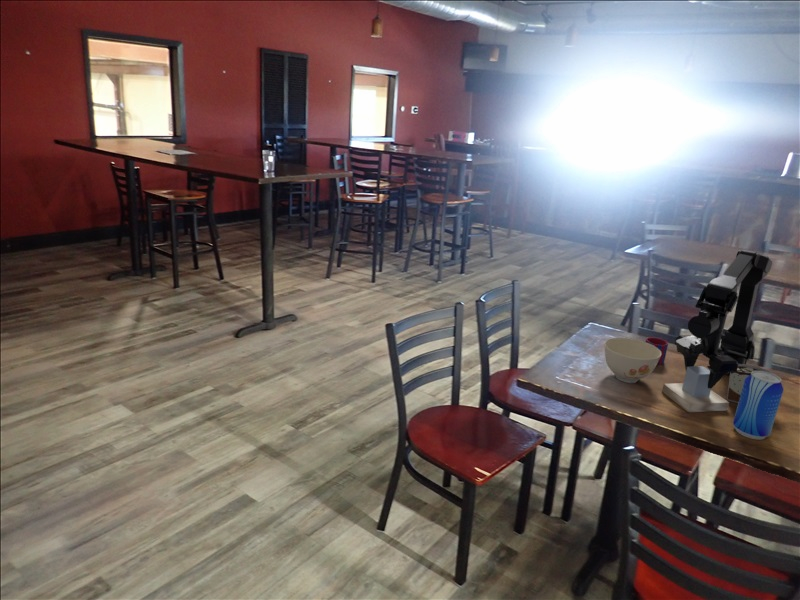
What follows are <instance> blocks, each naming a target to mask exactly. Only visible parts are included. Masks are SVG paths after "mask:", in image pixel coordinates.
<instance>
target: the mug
mask: <svg viewBox="0 0 800 600" xmlns="http://www.w3.org/2000/svg"><path fill="white" fill-rule="evenodd" d="M645 342H646V343H649V344H651V345H653V346H655V347H656V348H658V349H659V350H660V351H661V357H660V359H659V361H658V363H657V365H656V366H658V365H663V364H664V363H665V360H666V356H667V351H668V346H669V342H668V341H667V340H665V339H663V338H662V337H653V336H652V337H651V336H650V337H646V338H645Z"/></svg>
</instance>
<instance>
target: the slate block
mask: <svg viewBox="0 0 800 600" xmlns="http://www.w3.org/2000/svg"><path fill="white" fill-rule="evenodd" d="M709 374H710V370H709V369H708V367H707V368H706V366H703V365H701V366H700V365H697V366H696V365H694V366H692V367H687V370H686V369H685V375H684V379H683V382H682V383H683V387H682V389H683V390H684V391H685V392H687V393H688V394H689V395H691V396H692V397H709V396H710V392H711V390H712V388H708V380H709Z"/></svg>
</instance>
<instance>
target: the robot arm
mask: <svg viewBox="0 0 800 600" xmlns="http://www.w3.org/2000/svg"><path fill="white" fill-rule="evenodd" d="M772 266H773V261H772V259H771V258H770V257H769V256H767V255H762V254H760V253H759V252H757V251H751V250H746V249H739V250H738V251H737V253H736V256H735V258H734V259H733V261H732V262H731V264H729V266H728V267H727V269H726V270H725V271H724V272H723V274H722V275H721V276H718V277H714V278H712V279H711V281H709V282H708V283H707V284H706V285H705V286H704V287H703V289H702V291H701V294H700V296H698V297H699V298H698V300H697V301H696V304H695V307H694V308H697V309H699V312H698V314H696V315H694V316H693V317H691V318H690V319H689V321H688V323H687V328H688V329H687V330H688V331H689V332H690V334H686V335H683V334H679V335H677V337H675V341H674V342H675V343H674V345H676V352H677V353H680V354H681V355H682V356H683V360H684V361H683V362H684V367H685V371H686V370H687V367H692V366H696V363H697V360H698V358H699V356H700V355H702V356H704V357H706V358H707V359H709V360H708V365H707V369H708V370H710V374H709V380H708V388H711V389H713V388H714V386H716V384H717V383H719V381H720V380H721V379H723V377H725V376H726V375H727V376H729V377H730V372H733V371H737V368H738V365H739V364H747V361H749V360H753V359H754V357H755V352H756V347H755V341H754V336H755V333H754V332H753V329H752V328H751V321H752V316H753V312H754V307H755V302H756V300H757V299H756V298H757V294H758V289H759V285H760V282H761V281H762V280H763V279H764V278H766V277H767V275H768V274H769V273H770V271H771V269H772ZM738 287H739V291H738ZM734 308H735V309H734ZM733 310H734V314H733V320H732V323H731V324H732V325H731V326H730V327H729V328H728V329H726V331H725V332H724V328H725V324H726V321H727V317H728V315H729V314H730V313H732V311H733ZM723 332H724V333H723ZM718 353H719V354H722V353H723V355H718ZM728 372H729V373H728Z"/></svg>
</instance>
